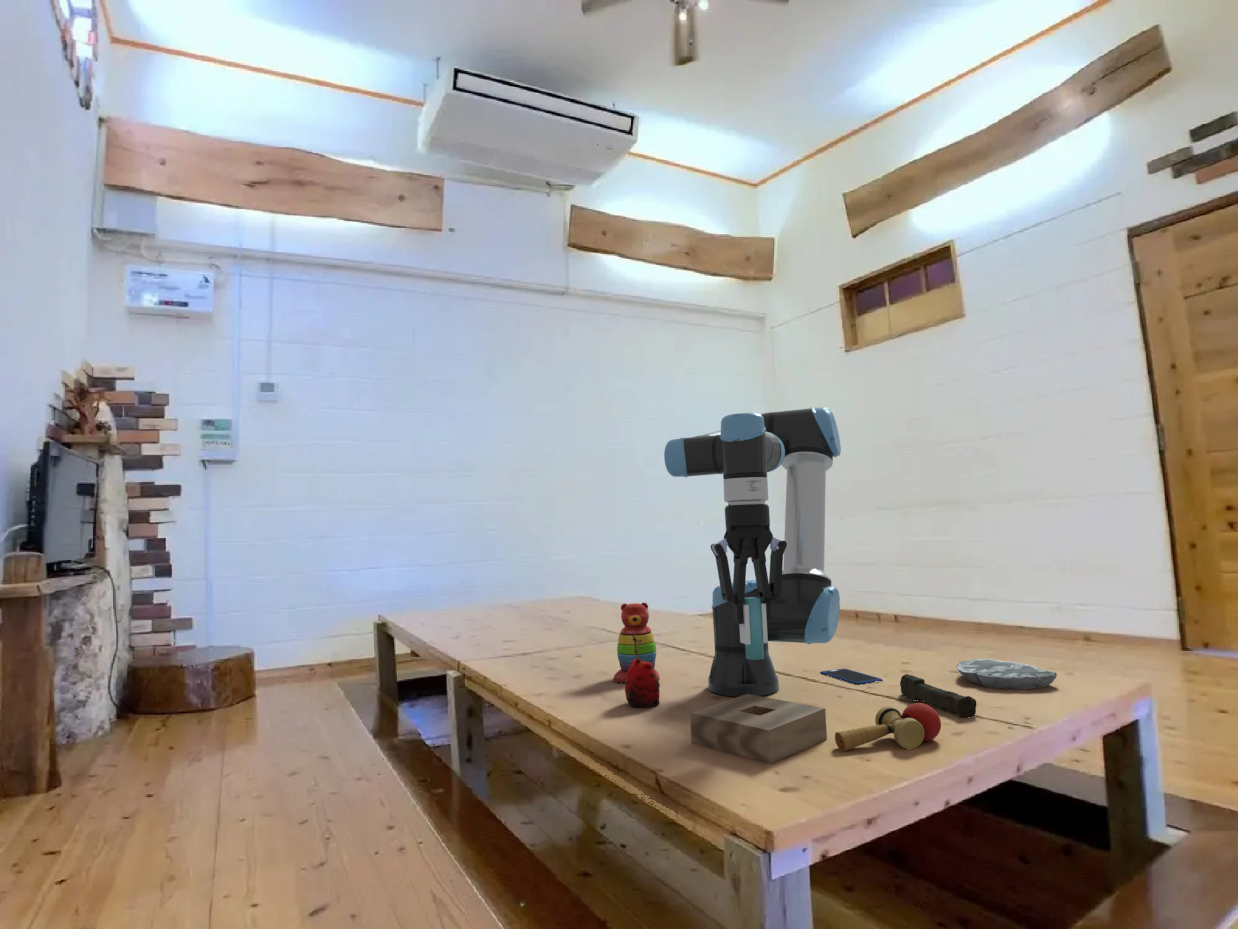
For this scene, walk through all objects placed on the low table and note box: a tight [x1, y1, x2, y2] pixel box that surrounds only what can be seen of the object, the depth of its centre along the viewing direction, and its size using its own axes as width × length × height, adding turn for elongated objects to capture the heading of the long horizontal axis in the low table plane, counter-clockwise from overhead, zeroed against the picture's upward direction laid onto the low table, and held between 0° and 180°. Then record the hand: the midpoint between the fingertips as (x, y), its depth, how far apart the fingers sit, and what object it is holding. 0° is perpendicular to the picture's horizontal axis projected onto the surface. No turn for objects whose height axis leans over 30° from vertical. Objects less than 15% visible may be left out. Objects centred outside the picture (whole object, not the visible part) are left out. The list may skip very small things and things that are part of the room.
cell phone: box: [819, 668, 883, 686], centre depth 163 cm, size 7×14×1 cm, turn 20°
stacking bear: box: [612, 602, 661, 683], centre depth 170 cm, size 11×10×18 cm
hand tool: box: [899, 673, 977, 719], centre depth 137 cm, size 19×4×5 cm, turn 12°
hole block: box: [689, 694, 828, 765], centre depth 119 cm, size 16×16×5 cm
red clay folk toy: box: [624, 632, 661, 708], centre depth 146 cm, size 8×7×15 cm
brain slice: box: [955, 658, 1058, 690], centre depth 153 cm, size 20×17×3 cm
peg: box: [743, 597, 764, 660], centre depth 121 cm, size 3×3×10 cm
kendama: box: [834, 702, 942, 752], centre depth 115 cm, size 8×6×18 cm
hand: (754, 642), depth 121 cm, fingers closed on peg, 2 cm apart
